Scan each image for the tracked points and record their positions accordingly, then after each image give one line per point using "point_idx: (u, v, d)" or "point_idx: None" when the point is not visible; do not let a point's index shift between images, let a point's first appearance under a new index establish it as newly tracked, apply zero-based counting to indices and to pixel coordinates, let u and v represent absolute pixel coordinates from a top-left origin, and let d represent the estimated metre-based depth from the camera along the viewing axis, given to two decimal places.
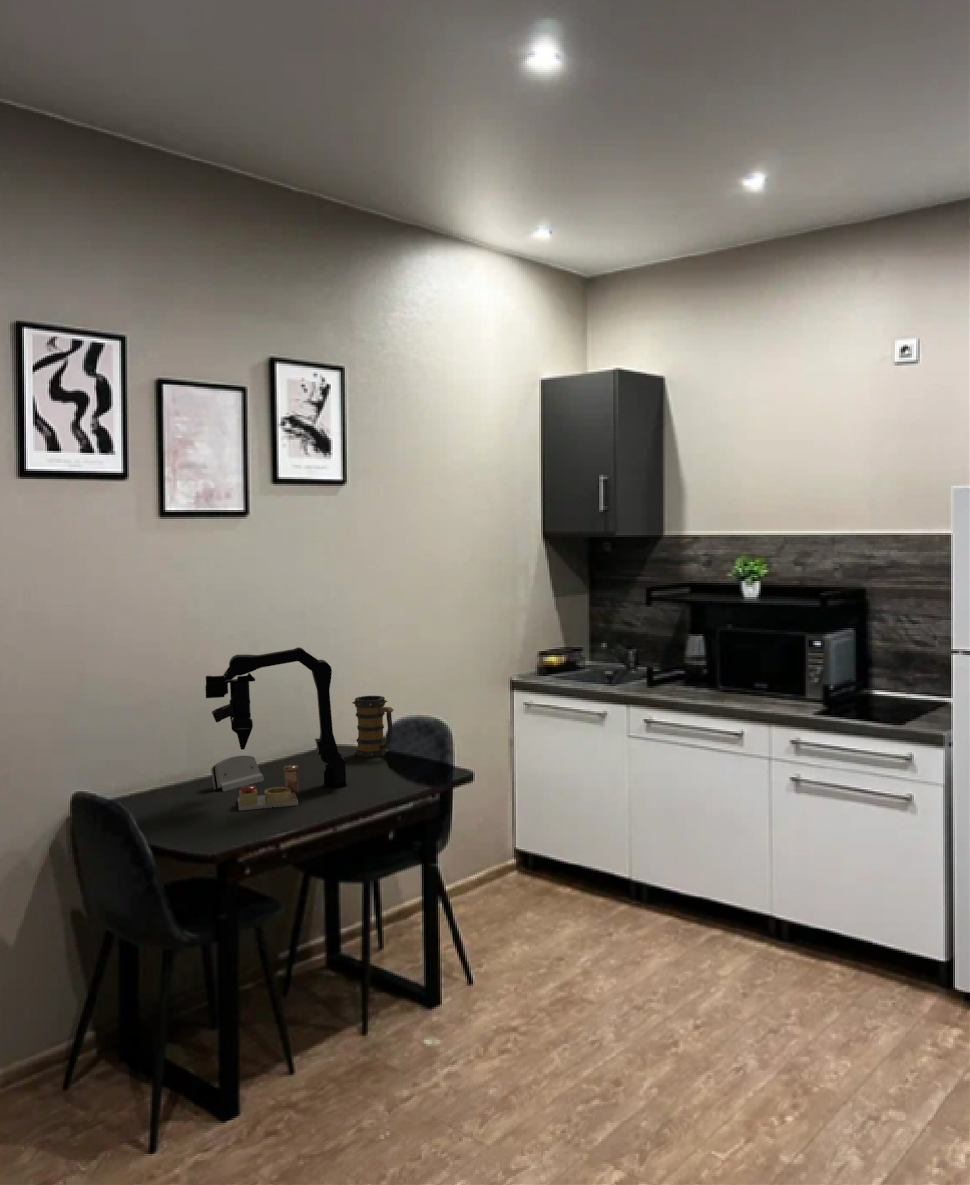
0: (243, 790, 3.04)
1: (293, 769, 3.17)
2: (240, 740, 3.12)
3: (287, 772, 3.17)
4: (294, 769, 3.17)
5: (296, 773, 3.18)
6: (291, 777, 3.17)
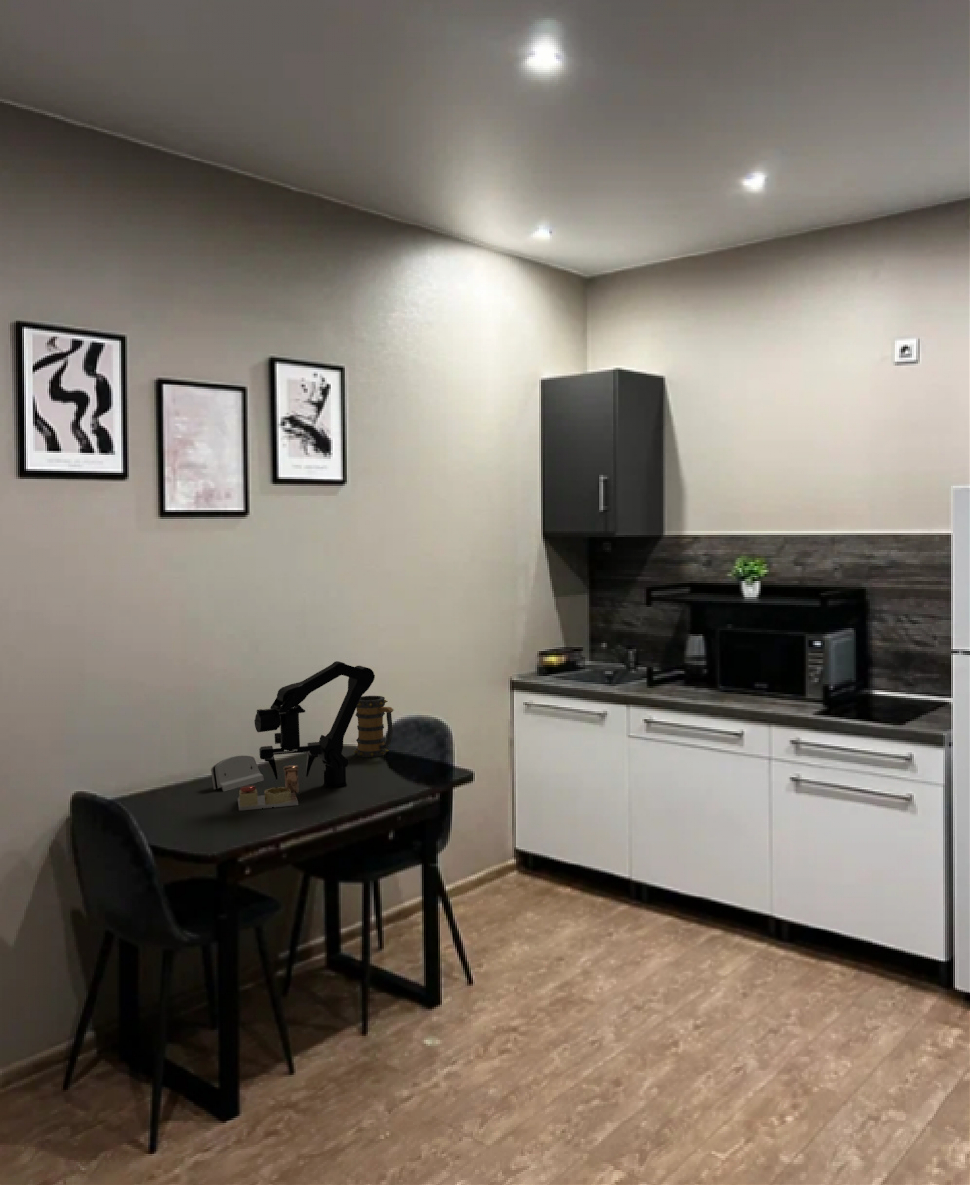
0: (243, 790, 3.04)
1: (293, 769, 3.17)
2: None
3: (287, 772, 3.17)
4: (294, 769, 3.17)
5: (296, 773, 3.18)
6: (291, 777, 3.17)
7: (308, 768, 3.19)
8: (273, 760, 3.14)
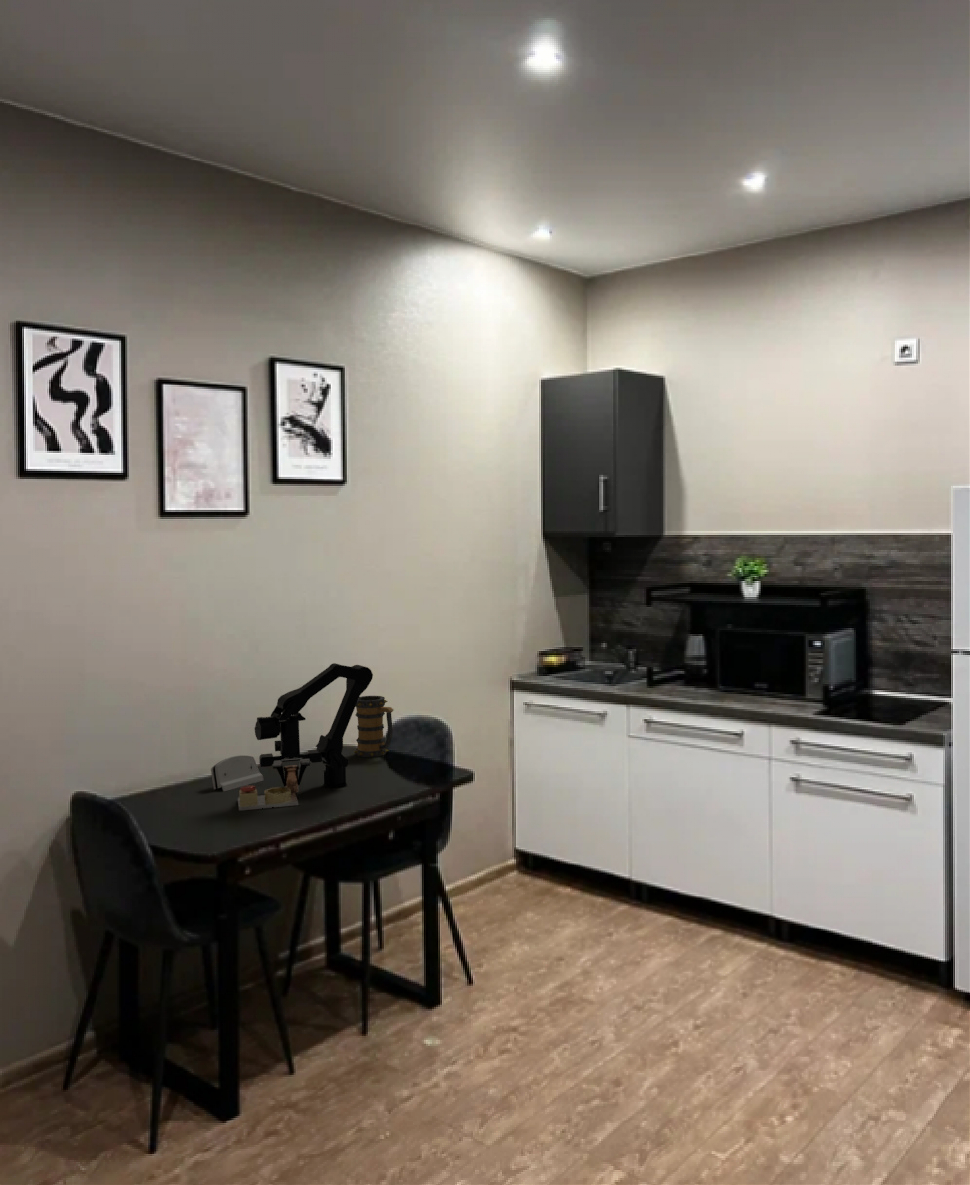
0: (243, 790, 3.04)
1: (293, 769, 3.17)
2: None
3: (287, 772, 3.17)
4: (294, 769, 3.17)
5: (296, 773, 3.18)
6: (291, 777, 3.17)
7: (300, 776, 3.18)
8: (281, 767, 3.15)
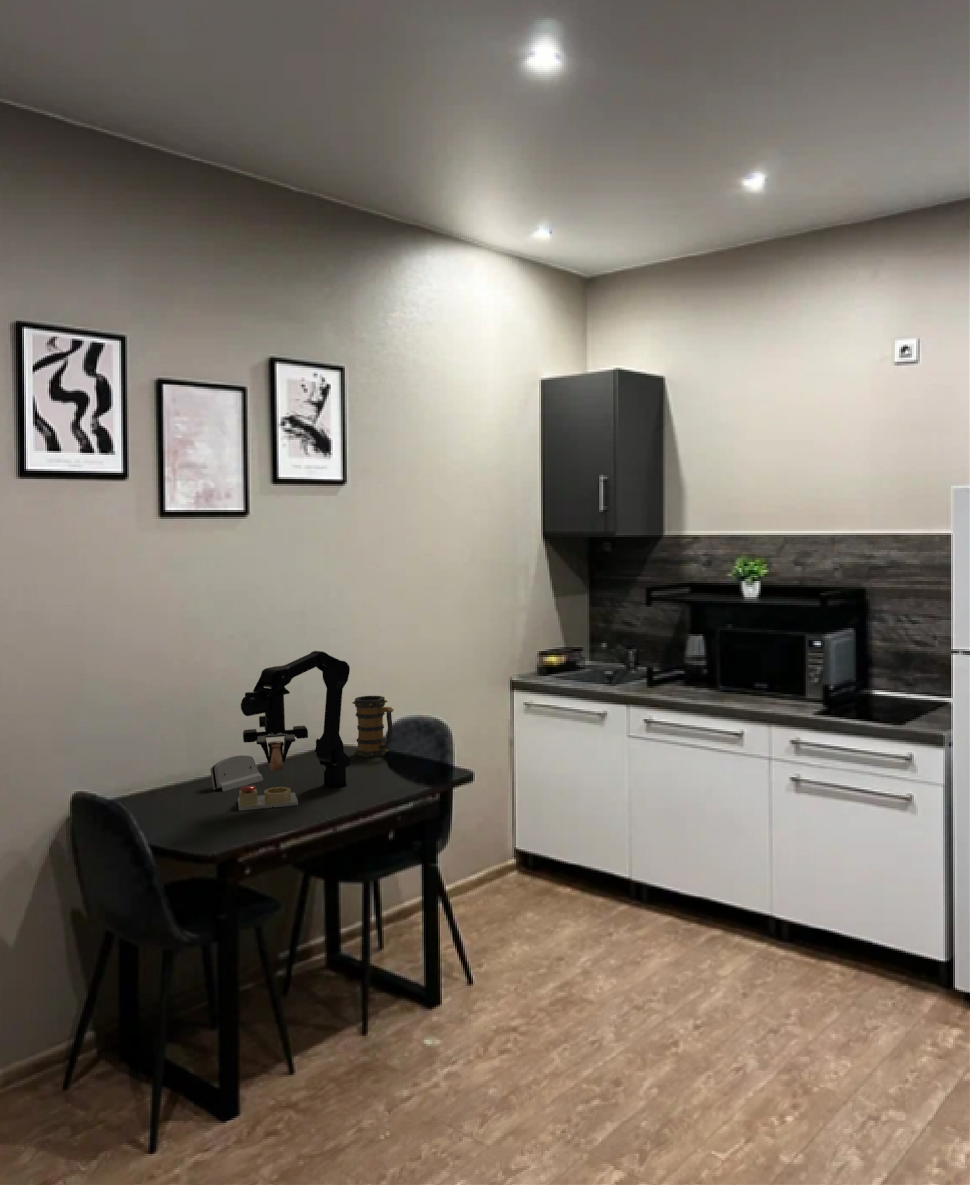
0: (243, 790, 3.04)
1: (278, 745, 3.05)
2: None
3: (271, 748, 3.05)
4: (279, 745, 3.05)
5: (281, 749, 3.06)
6: (275, 753, 3.05)
7: (285, 753, 3.06)
8: (265, 743, 3.03)
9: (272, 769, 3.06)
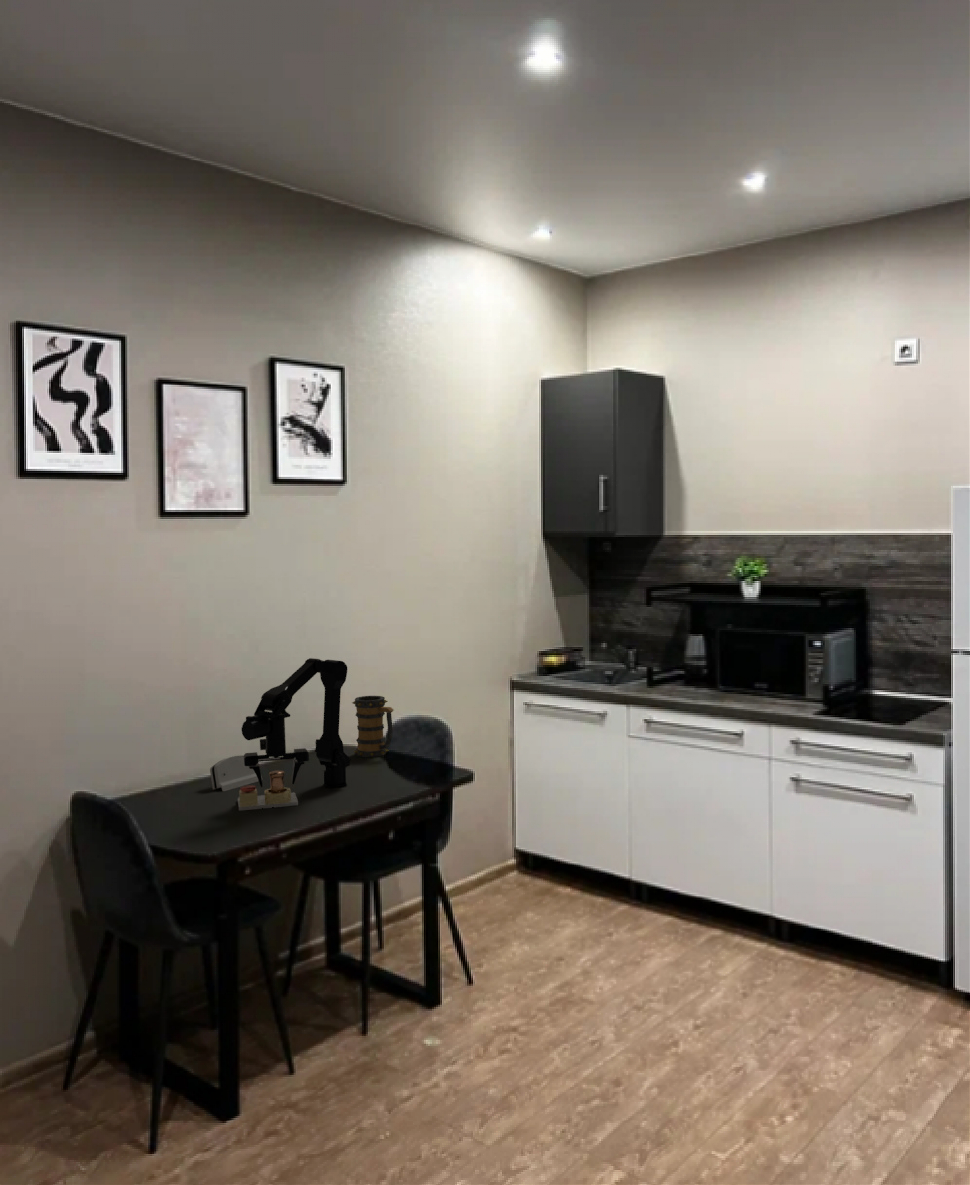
0: (243, 790, 3.04)
1: (279, 775, 3.06)
2: None
3: (273, 778, 3.06)
4: (280, 775, 3.06)
5: (282, 779, 3.07)
6: (276, 783, 3.06)
7: (294, 775, 3.08)
8: (258, 767, 3.03)
9: None
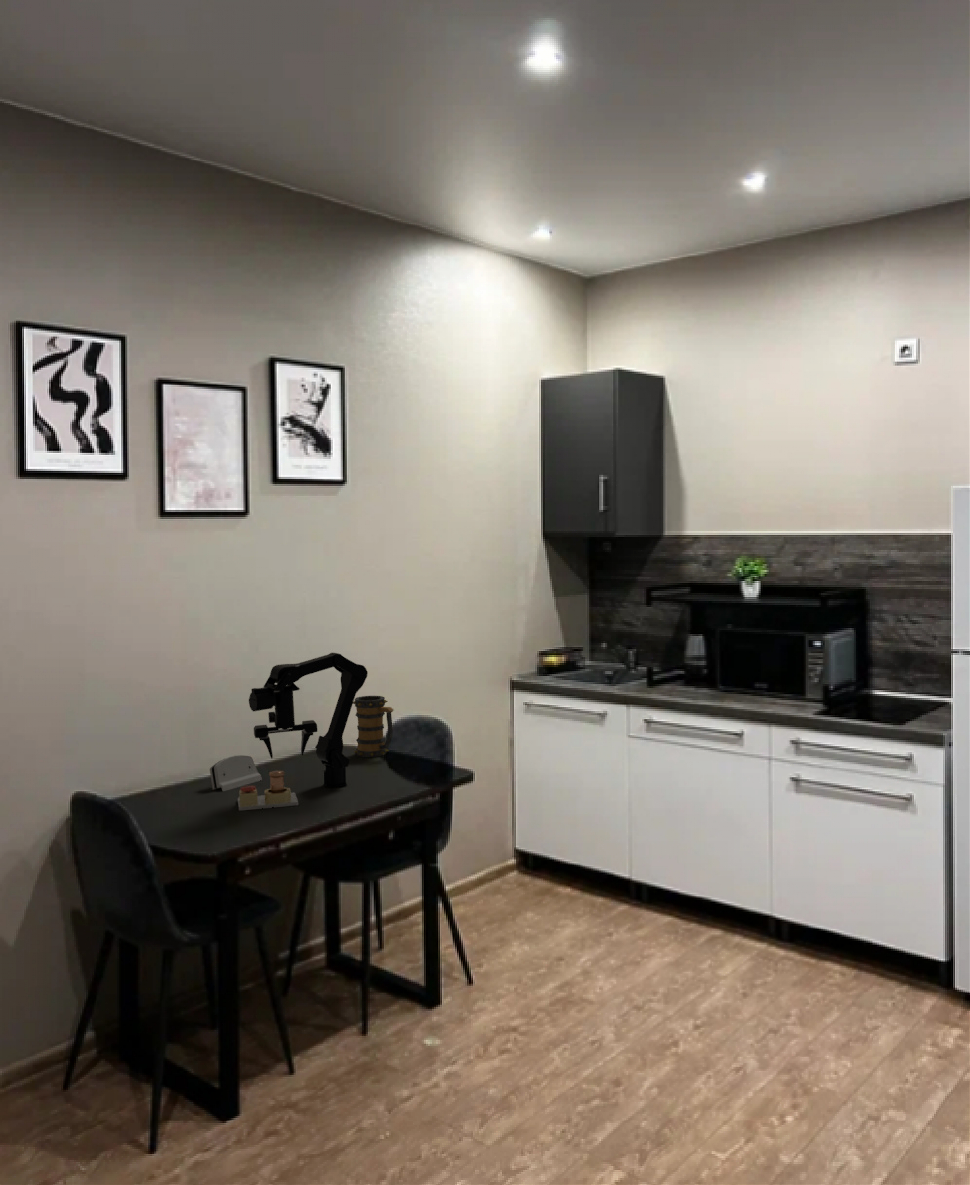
0: (243, 790, 3.04)
1: (279, 775, 3.06)
2: (267, 748, 3.14)
3: (273, 778, 3.06)
4: (280, 775, 3.06)
5: (282, 779, 3.07)
6: (276, 783, 3.06)
7: (303, 746, 3.16)
8: (268, 739, 3.11)
9: None
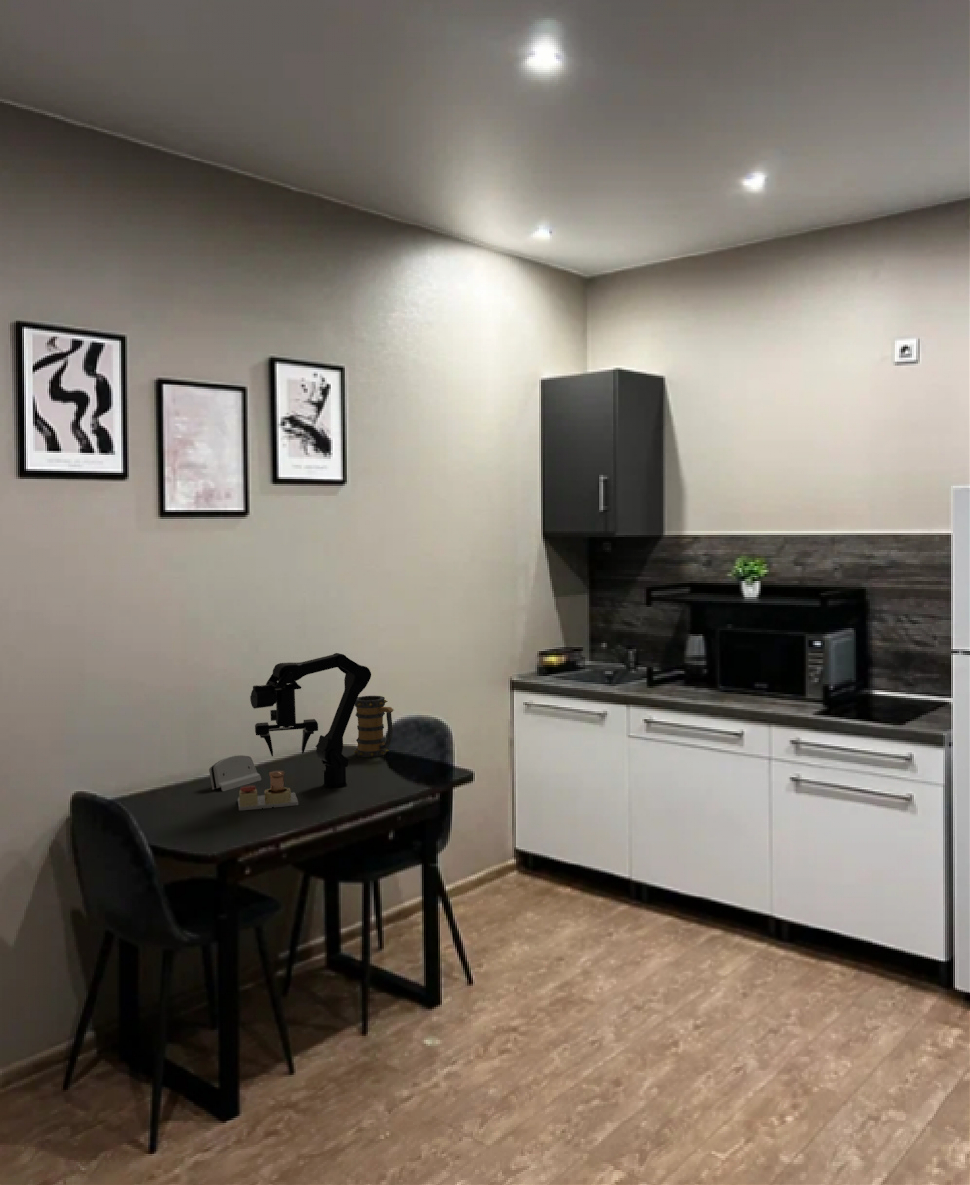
0: (243, 790, 3.04)
1: (279, 775, 3.06)
2: None
3: (273, 778, 3.06)
4: (280, 775, 3.06)
5: (282, 779, 3.07)
6: (276, 783, 3.06)
7: (304, 745, 3.17)
8: (269, 736, 3.12)
9: None
